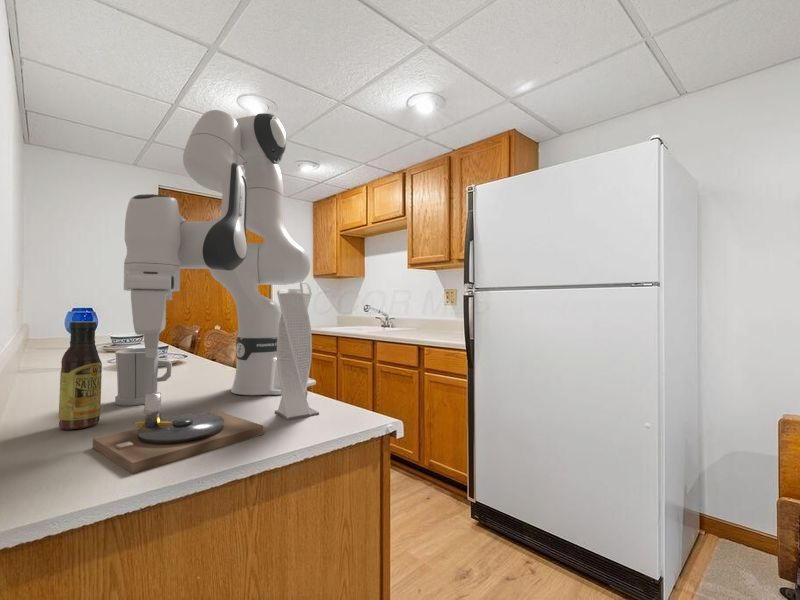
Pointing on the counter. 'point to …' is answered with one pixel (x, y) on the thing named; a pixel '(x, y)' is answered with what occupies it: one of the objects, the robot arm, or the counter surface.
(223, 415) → the stand
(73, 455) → the counter surface
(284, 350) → the skyscraper
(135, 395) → the cup
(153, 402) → the dial
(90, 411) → the sauce bottle
